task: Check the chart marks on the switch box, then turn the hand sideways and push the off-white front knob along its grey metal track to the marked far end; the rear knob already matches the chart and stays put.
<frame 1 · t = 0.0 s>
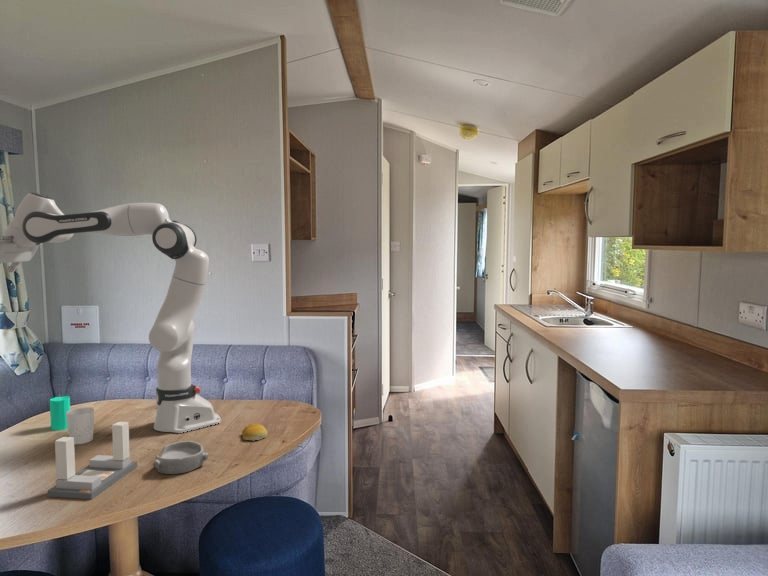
hand: (1, 272, 177), 54 cm above the table, tool tilted 30°, fingers open, 8 cm apart
white cup: (81, 441, 171), on the table
candle: (61, 428, 184), on the table
front knob: (65, 457, 136), point 9 cm above the table, slide at -3.5 cm
rear knob: (120, 440, 148), point 9 cm above the table, slide at 3.5 cm
bread roll: (254, 437, 177), on the table
switch box: (95, 480, 143), on the table
dish: (181, 466, 154), on the table
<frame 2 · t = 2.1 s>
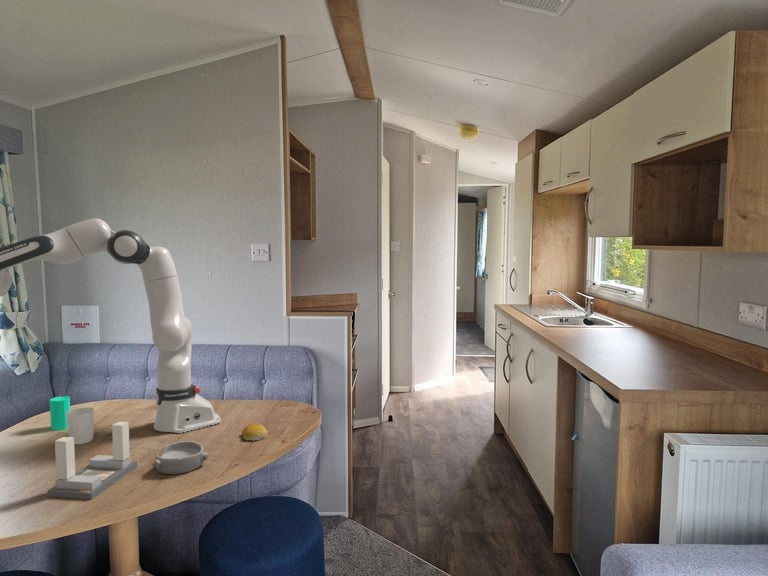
nothing on the table moved.
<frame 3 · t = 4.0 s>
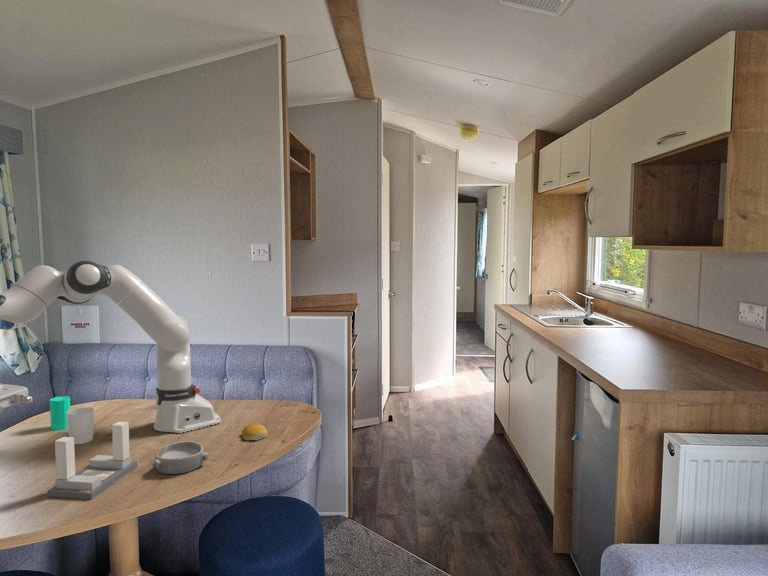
hand: (16, 405, 137), 22 cm above the table, tool horizontal, fingers open, 8 cm apart
nothing on the table moved.
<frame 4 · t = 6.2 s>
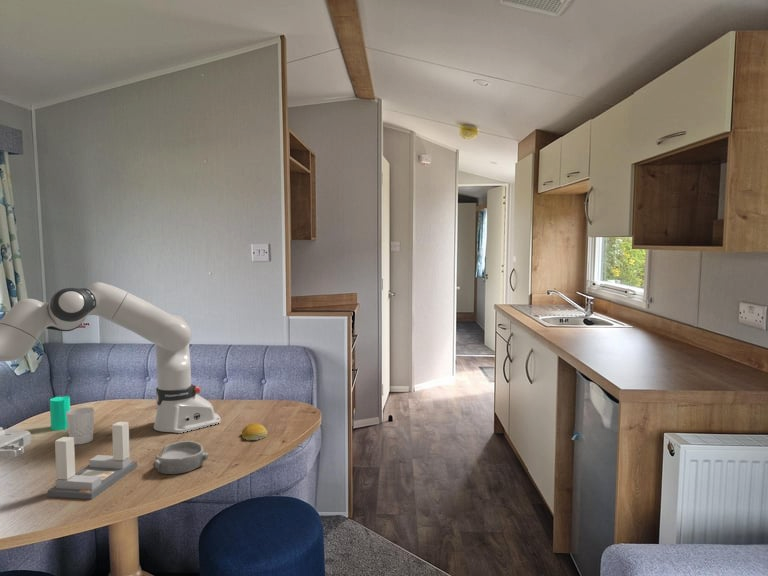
hand: (19, 452, 137), 10 cm above the table, tool horizontal, fingers closed
nothing on the table moved.
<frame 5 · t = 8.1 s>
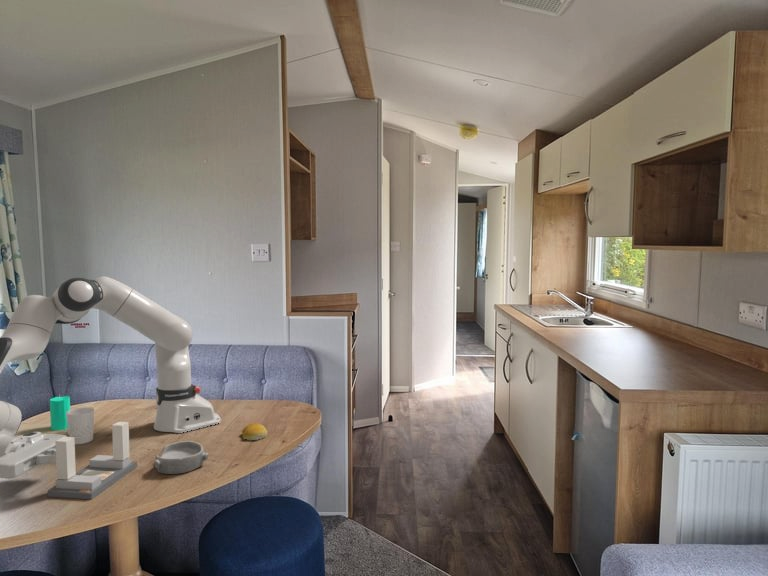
hand: (60, 457, 136), 9 cm above the table, tool horizontal, fingers closed, pressing on front knob
front knob: (65, 457, 136), point 9 cm above the table, slide at -3.4 cm, touching gripper
everything else where it was.
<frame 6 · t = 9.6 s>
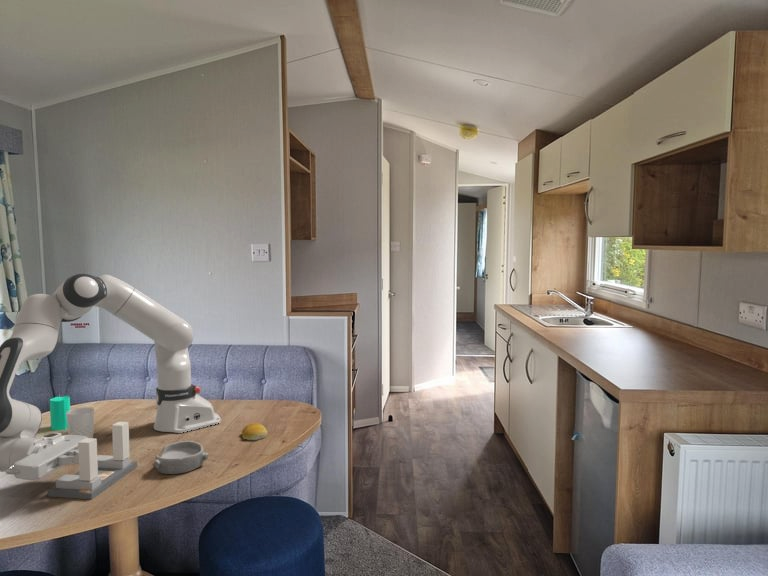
hand: (82, 458, 136), 9 cm above the table, tool horizontal, fingers closed, pressing on front knob
front knob: (88, 459, 136), point 9 cm above the table, slide at 2.9 cm, touching gripper
everything else where it was.
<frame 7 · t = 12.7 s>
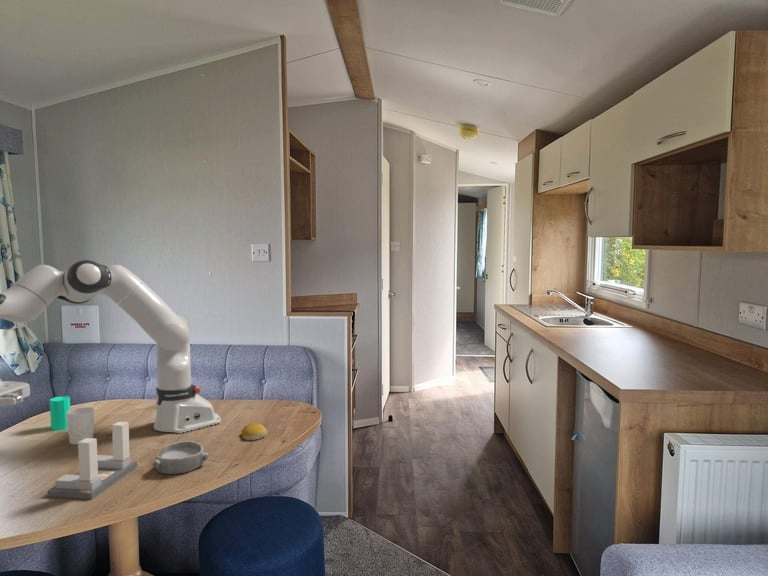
hand: (18, 400, 136), 24 cm above the table, tool horizontal, fingers closed
front knob: (88, 459, 136), point 9 cm above the table, slide at 2.9 cm
everything else where it was.
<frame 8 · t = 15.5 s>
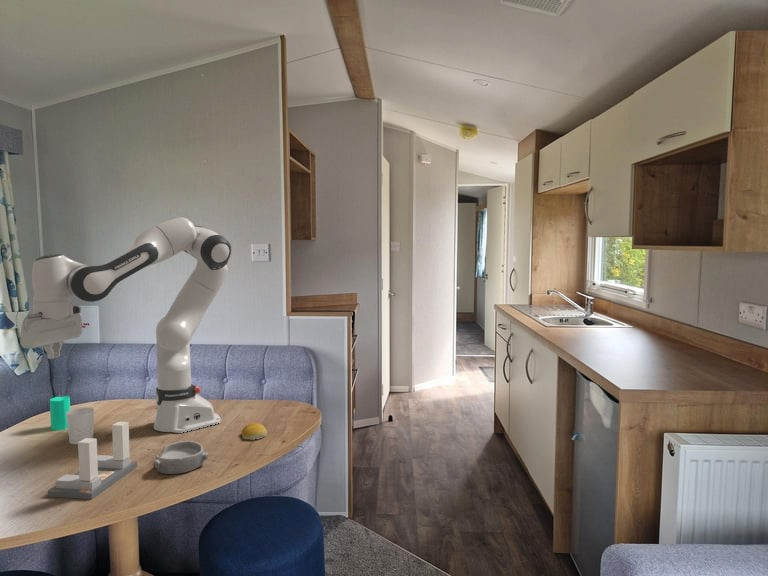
hand: (53, 357, 153), 31 cm above the table, tool pointing down, fingers closed
nothing on the table moved.
at the end: front knob slide at 2.9 cm; rear knob slide at 3.5 cm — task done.
